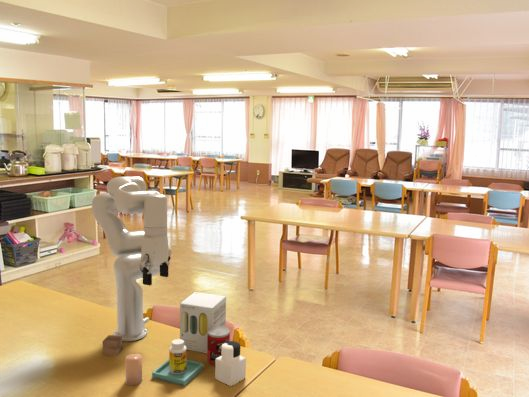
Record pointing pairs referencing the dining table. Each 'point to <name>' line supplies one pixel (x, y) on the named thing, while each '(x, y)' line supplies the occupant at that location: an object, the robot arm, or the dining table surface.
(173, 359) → the supplement bottle
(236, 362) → the medicine bottle
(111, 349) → the walnut block
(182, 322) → the supplement box
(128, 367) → the peach rounded capsule
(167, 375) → the tray
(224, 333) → the canned food
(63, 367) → the dining table surface
